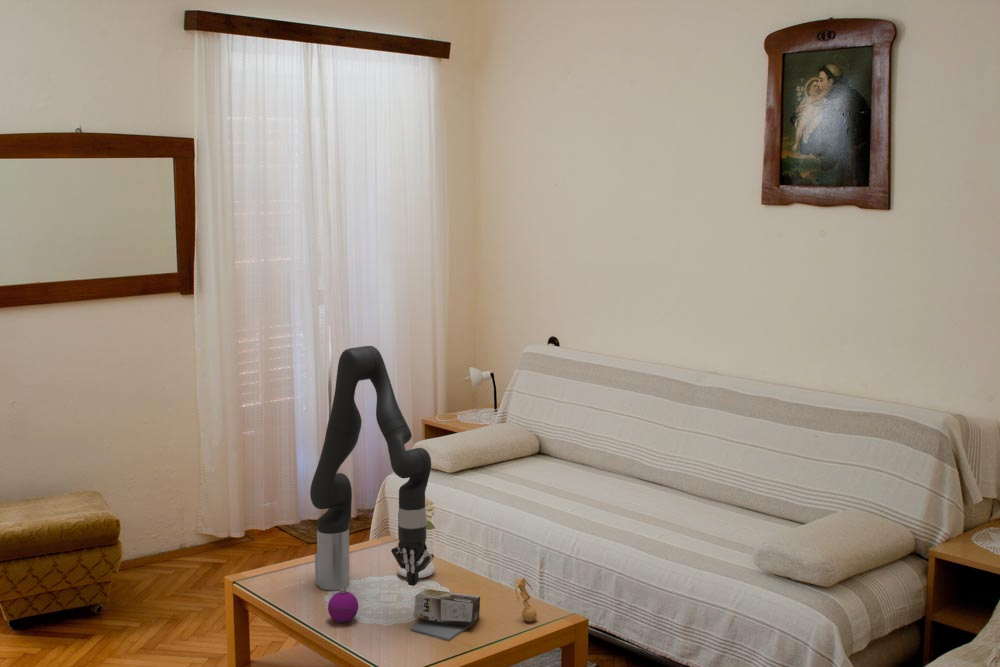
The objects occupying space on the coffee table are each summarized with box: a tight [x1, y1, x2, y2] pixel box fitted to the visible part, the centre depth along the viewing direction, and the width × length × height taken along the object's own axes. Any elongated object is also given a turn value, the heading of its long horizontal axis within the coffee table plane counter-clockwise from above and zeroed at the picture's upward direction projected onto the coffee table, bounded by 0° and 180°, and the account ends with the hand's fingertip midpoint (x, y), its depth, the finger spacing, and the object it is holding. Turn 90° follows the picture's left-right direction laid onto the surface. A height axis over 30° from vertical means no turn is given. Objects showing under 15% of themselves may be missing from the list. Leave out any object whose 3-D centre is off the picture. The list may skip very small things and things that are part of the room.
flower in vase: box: [396, 496, 436, 579], centre depth 302 cm, size 13×11×25 cm
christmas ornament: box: [327, 586, 359, 623], centre depth 271 cm, size 8×8×10 cm
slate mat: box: [410, 619, 470, 642], centre depth 268 cm, size 12×11×1 cm
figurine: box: [514, 576, 538, 623], centre depth 272 cm, size 8×6×12 cm
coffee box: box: [413, 588, 481, 628], centre depth 271 cm, size 9×6×16 cm
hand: (412, 584), depth 271 cm, fingers closed
